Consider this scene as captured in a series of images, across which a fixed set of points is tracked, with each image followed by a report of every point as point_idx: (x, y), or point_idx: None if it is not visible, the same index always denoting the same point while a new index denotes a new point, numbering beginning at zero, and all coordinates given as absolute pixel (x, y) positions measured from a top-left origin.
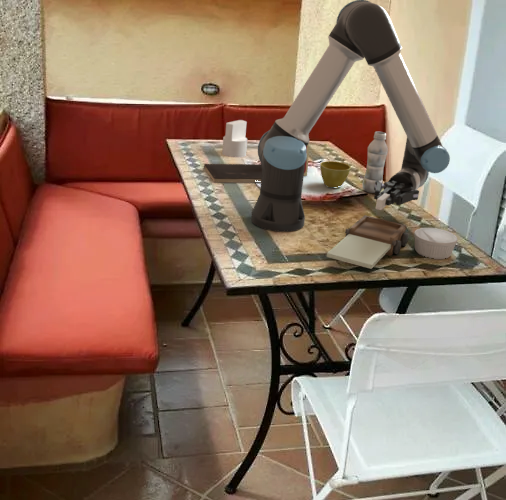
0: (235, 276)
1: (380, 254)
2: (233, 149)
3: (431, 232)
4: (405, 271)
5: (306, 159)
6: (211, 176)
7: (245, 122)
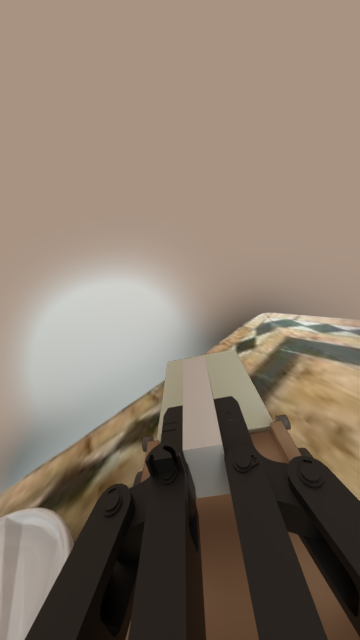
0: (277, 316)
1: (165, 390)
2: None
3: None
4: (124, 428)
5: None
6: None
7: None
